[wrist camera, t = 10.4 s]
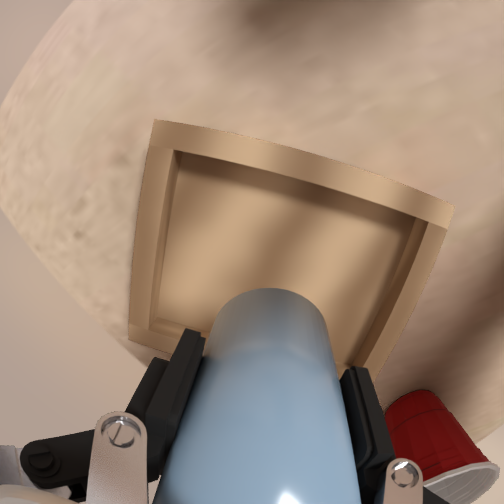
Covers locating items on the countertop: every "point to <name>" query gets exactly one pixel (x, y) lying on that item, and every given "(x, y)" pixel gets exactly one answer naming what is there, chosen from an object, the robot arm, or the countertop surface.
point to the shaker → (263, 412)
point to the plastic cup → (439, 448)
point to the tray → (277, 240)
